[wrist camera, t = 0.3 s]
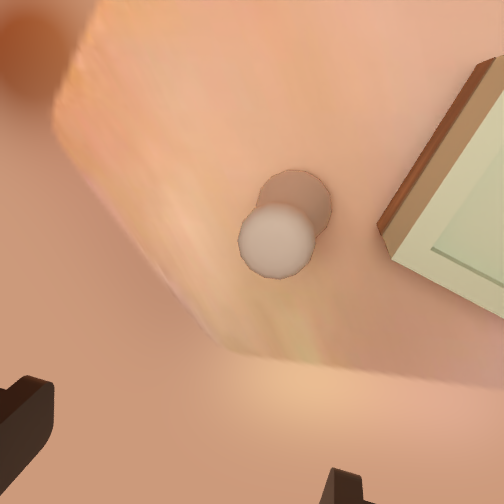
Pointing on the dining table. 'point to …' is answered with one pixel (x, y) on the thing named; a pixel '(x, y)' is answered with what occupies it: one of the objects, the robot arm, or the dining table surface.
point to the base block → (434, 143)
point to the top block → (461, 204)
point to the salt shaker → (284, 224)
